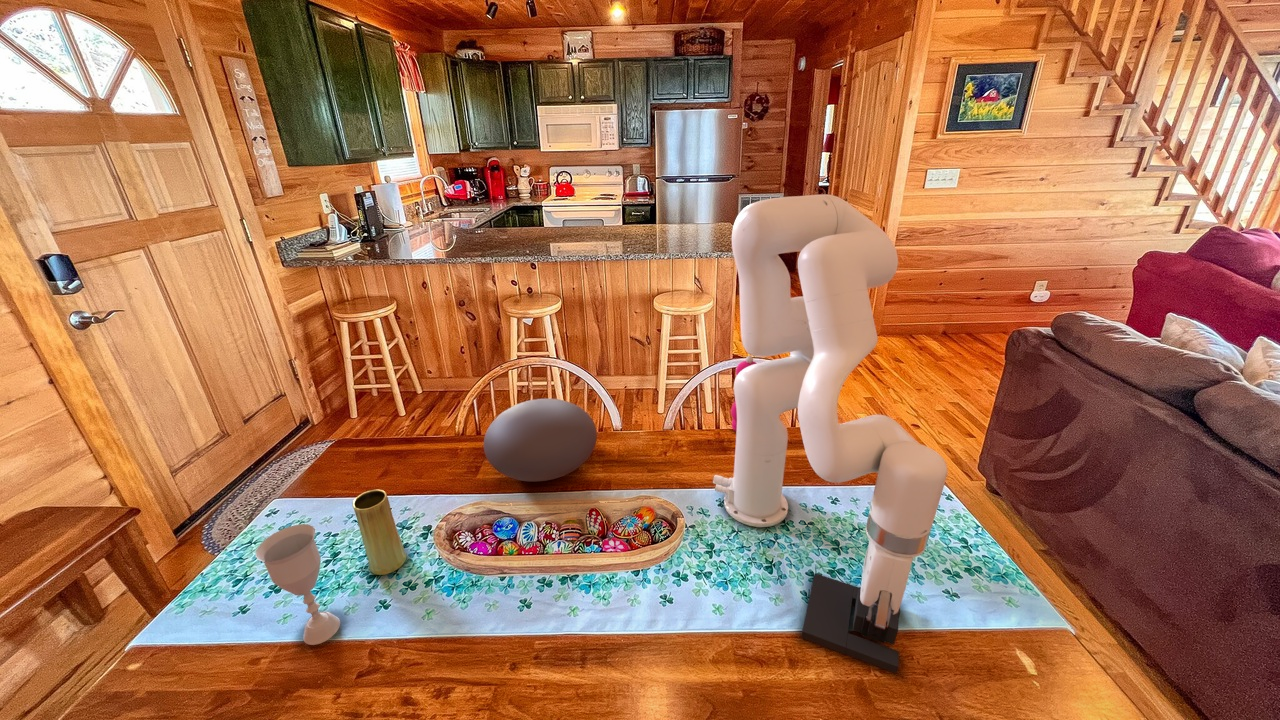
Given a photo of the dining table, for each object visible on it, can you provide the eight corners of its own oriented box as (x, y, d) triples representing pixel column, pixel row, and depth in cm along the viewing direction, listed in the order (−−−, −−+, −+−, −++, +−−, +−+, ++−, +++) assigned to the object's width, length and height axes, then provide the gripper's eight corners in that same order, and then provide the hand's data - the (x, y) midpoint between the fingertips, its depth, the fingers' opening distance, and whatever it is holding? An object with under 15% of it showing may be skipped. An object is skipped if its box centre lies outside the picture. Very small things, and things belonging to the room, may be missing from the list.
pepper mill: (758, 436, 126) (765, 363, 117) (729, 433, 127) (733, 361, 119) (758, 421, 132) (764, 351, 124) (730, 419, 134) (734, 349, 125)
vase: (414, 555, 93) (397, 493, 87) (386, 580, 88) (366, 515, 82) (390, 545, 95) (372, 484, 89) (362, 569, 90) (340, 505, 84)
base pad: (800, 638, 76) (802, 631, 76) (813, 579, 86) (814, 572, 85) (896, 674, 71) (898, 667, 70) (898, 607, 81) (900, 600, 80)
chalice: (309, 659, 75) (269, 569, 67) (285, 637, 78) (245, 549, 70) (357, 621, 80) (325, 534, 73) (333, 603, 84) (300, 518, 76)
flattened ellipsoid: (512, 433, 130) (504, 381, 123) (608, 438, 126) (605, 385, 120) (469, 496, 107) (457, 436, 101) (584, 505, 104) (579, 444, 98)
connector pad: (852, 630, 76) (855, 615, 74) (855, 601, 80) (859, 586, 79) (893, 645, 73) (898, 629, 72) (894, 614, 78) (899, 599, 76)
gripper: (871, 484, 77) (852, 570, 85) (862, 564, 63) (840, 659, 71) (926, 497, 74) (902, 586, 82) (930, 585, 60) (899, 682, 68)
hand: (873, 619), depth 76 cm, fingers closed on connector pad, 5 cm apart
